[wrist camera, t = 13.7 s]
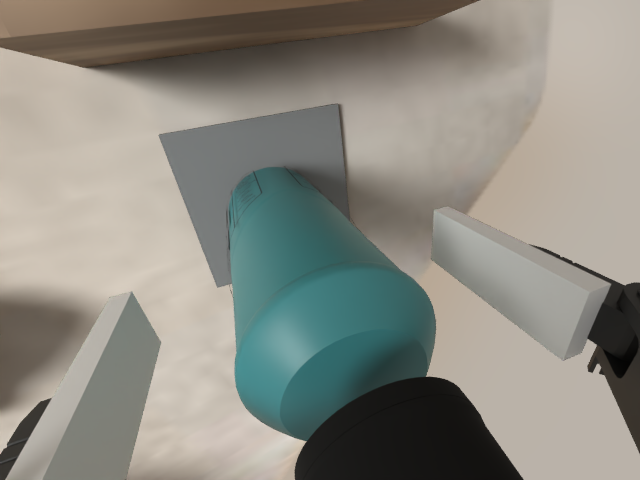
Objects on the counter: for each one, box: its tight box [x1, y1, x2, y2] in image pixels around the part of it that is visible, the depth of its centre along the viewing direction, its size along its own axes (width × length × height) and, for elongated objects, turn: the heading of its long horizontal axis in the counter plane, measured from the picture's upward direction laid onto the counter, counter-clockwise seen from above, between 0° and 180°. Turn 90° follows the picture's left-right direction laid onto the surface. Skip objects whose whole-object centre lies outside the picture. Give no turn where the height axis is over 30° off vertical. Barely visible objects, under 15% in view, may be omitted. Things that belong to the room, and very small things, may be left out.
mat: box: [159, 104, 350, 288], centre depth 22 cm, size 12×12×1 cm
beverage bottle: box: [226, 166, 523, 480], centre depth 13 cm, size 6×7×20 cm
